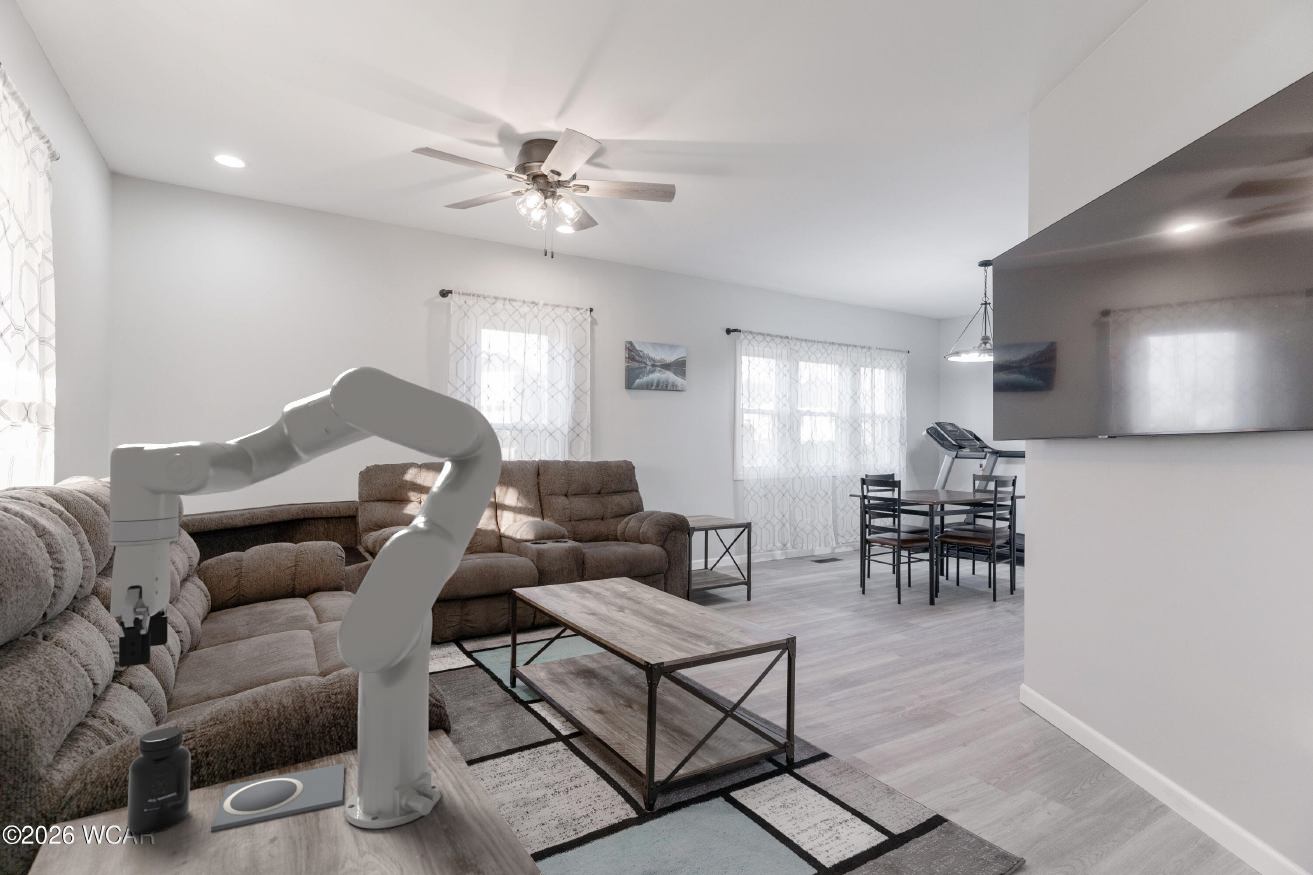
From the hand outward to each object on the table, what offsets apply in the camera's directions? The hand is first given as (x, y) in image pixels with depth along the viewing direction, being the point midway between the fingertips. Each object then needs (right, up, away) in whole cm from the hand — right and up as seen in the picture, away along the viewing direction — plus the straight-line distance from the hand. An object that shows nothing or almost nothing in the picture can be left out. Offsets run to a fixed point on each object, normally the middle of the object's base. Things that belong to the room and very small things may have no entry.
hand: (144, 654), depth 89 cm
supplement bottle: (+2, -23, 0) cm, 23 cm away
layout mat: (+16, -23, +6) cm, 29 cm away
